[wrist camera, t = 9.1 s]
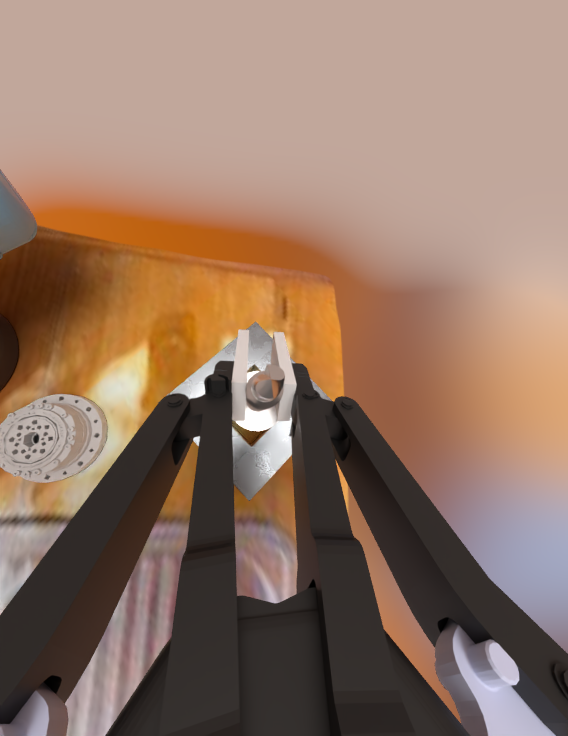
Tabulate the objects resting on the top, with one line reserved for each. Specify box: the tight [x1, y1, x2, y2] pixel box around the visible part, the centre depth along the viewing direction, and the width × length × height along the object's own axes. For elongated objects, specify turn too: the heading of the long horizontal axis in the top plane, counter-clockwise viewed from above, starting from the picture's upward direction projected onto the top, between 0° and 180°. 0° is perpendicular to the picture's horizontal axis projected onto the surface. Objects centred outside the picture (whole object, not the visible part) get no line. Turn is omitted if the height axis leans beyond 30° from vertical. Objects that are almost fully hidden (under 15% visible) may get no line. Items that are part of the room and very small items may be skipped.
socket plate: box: [167, 322, 332, 501], centre depth 31 cm, size 16×16×3 cm
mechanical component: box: [0, 394, 107, 483], centre depth 26 cm, size 10×4×10 cm
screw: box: [235, 364, 285, 431], centre depth 14 cm, size 13×5×5 cm
